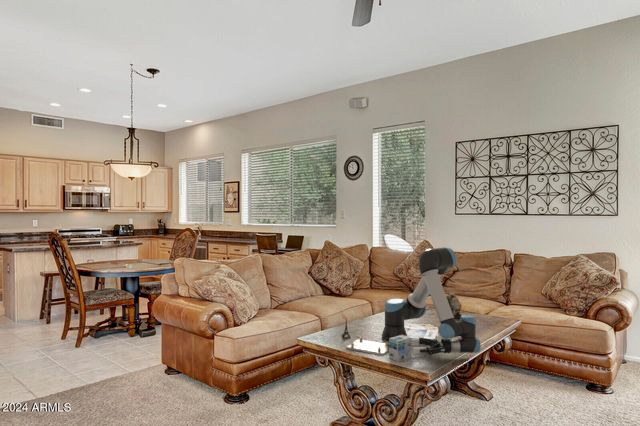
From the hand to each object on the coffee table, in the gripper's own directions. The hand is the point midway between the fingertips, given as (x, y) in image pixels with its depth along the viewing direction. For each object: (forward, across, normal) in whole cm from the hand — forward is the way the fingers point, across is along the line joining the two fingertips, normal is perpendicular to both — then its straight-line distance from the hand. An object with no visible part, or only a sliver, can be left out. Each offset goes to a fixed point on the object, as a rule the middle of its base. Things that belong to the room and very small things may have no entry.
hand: (409, 346), depth 229 cm
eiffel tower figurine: (+30, +38, -7) cm, 49 cm away
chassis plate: (+19, +17, -6) cm, 26 cm away
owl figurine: (-50, +84, -7) cm, 98 cm away
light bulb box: (+5, +1, -7) cm, 8 cm away
